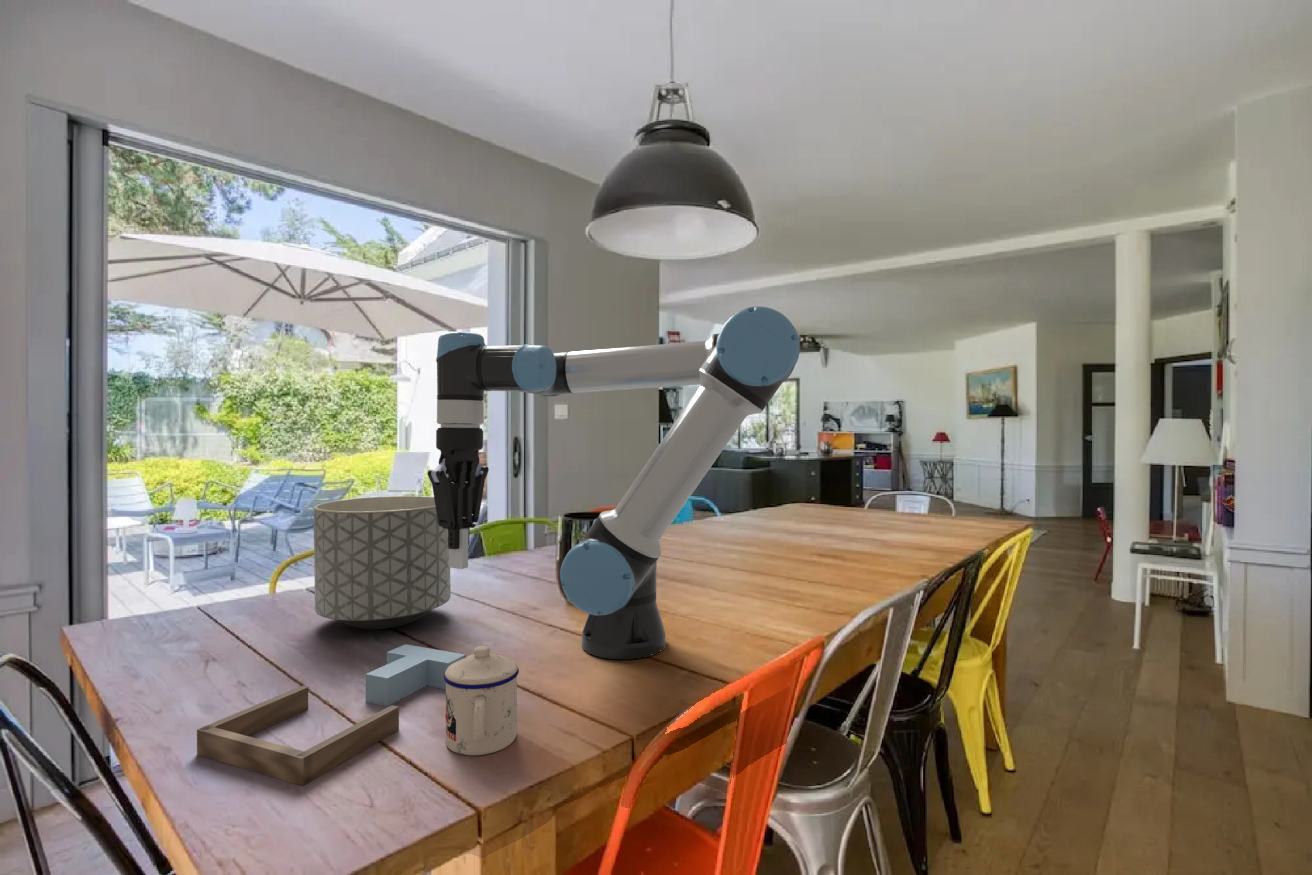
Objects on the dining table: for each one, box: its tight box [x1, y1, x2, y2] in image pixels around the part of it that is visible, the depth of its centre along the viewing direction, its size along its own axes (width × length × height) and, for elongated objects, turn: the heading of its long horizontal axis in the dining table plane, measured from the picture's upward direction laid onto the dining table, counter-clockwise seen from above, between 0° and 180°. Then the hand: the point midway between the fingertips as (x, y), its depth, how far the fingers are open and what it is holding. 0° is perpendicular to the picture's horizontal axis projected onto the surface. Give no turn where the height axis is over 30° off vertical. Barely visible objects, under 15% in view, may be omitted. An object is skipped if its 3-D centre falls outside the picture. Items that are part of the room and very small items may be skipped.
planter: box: [313, 495, 451, 631], centre depth 129 cm, size 25×25×24 cm
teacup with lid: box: [444, 645, 520, 756], centre depth 80 cm, size 12×9×12 cm
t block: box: [365, 643, 467, 707], centre depth 97 cm, size 12×12×4 cm
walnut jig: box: [196, 685, 400, 787], centre depth 80 cm, size 17×14×3 cm
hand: (458, 567), depth 108 cm, fingers closed
